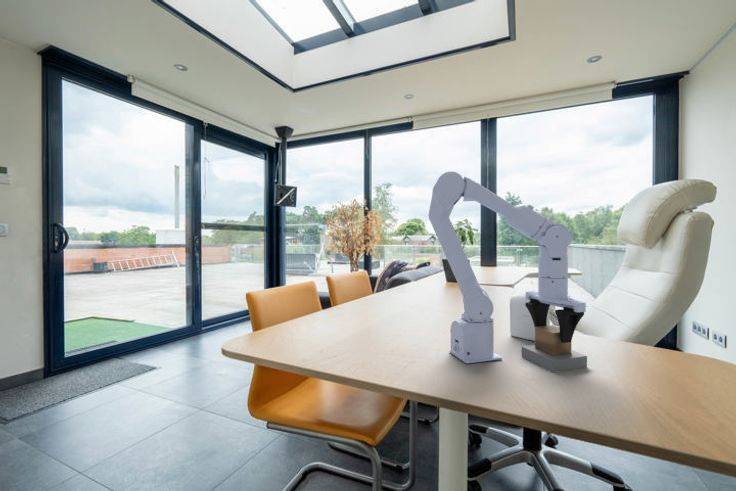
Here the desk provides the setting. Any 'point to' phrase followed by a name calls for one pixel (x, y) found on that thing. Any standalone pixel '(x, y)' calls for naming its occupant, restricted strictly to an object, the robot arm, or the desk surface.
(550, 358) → the base slab
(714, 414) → the desk surface
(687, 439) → the desk surface
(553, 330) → the walnut cube
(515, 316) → the photo printer
